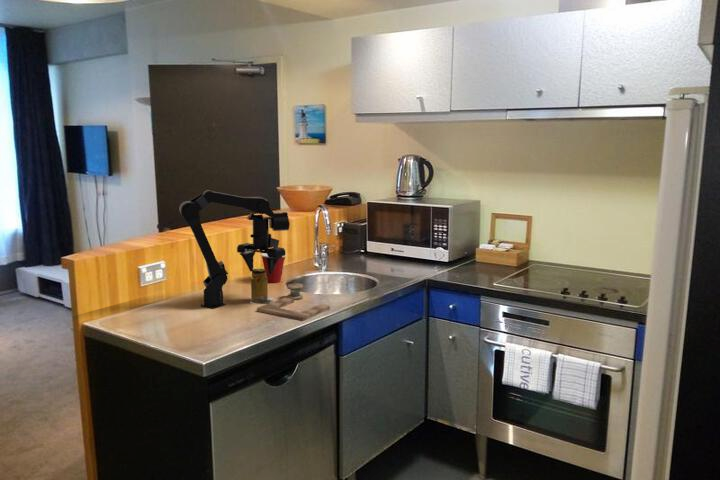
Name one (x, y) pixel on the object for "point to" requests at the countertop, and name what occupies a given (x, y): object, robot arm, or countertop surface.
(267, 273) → the plastic cup
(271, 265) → the robot arm
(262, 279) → the condiment
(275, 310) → the brown frame
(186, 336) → the countertop surface
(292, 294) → the spool
